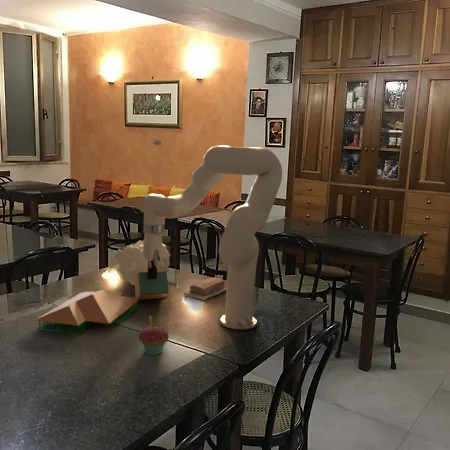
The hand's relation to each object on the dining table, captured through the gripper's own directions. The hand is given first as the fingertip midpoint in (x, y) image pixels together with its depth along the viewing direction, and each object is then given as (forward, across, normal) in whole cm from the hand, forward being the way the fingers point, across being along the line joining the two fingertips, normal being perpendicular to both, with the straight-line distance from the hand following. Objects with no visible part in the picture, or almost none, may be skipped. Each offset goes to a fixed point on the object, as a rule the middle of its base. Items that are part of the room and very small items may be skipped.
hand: (152, 278), depth 183 cm
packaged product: (+11, -10, +25) cm, 29 cm away
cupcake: (+11, +39, -8) cm, 41 cm away
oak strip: (+11, -9, +1) cm, 14 cm away
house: (+11, +6, -22) cm, 25 cm away
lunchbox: (+8, -3, +1) cm, 8 cm away
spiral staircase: (+11, -33, +4) cm, 35 cm away
